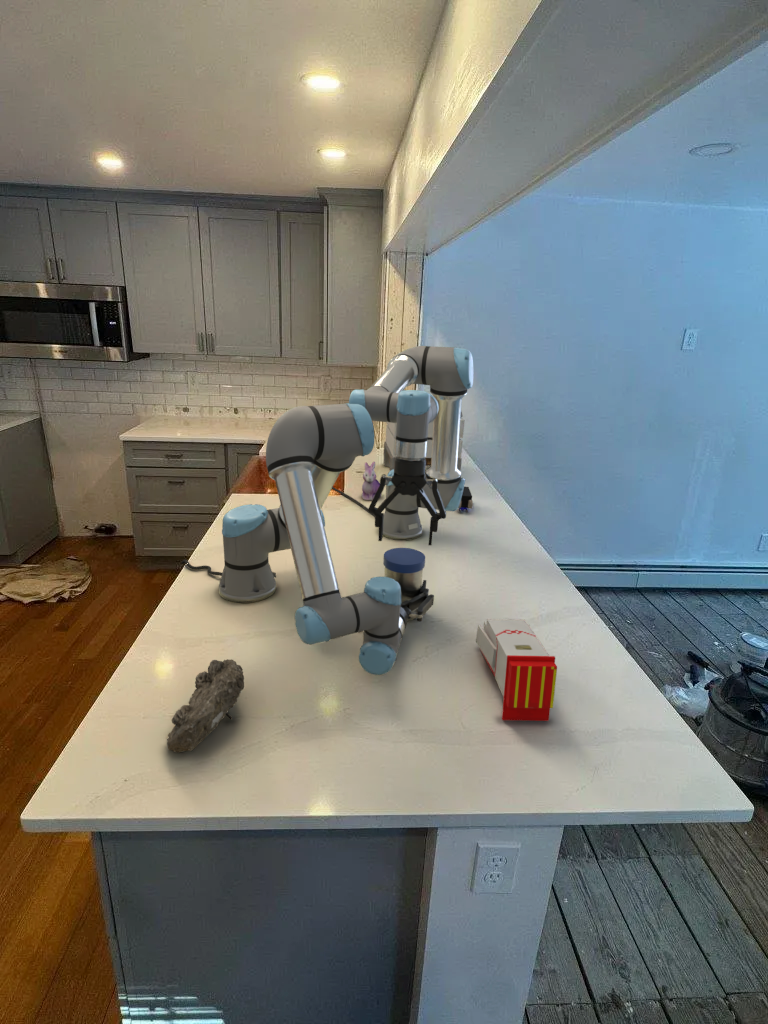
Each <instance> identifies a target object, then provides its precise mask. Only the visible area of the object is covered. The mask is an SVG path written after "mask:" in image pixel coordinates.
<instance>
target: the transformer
mask: <svg viewBox="0 0 768 1024" xmlns="http://www.w3.org/2000/svg"><path fill="white" fill-rule="evenodd" d="M406 390H407V389H404V390H403V391H406ZM385 423H386V428H385V438H384V442H383V466H384V467H388V468H389V472H390V471H391V470H393V469H394V460H395V458H396V455H395V439H396V423H391V422H385ZM464 429H465V419H464V418H463V411H461V417H460V431H459V445H458V459H457V469H459V470H460V472H461V473H462V461H463V460H462V453H463V442H464V441H463V440H462V439H463V438H464V431H465V430H464ZM432 438H433V421H432V422H431V423H429V425H428V436H427V453H426V457H425V460H426V467H431V459H432Z"/></svg>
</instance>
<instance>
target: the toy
mask: <svg viewBox="0 0 768 1024" xmlns="http://www.w3.org/2000/svg"><path fill="white" fill-rule="evenodd" d="M476 629H477V631H476V638H475V642H476V645H477V646H478V648H479V650H480V652H481V654H482V656H483V658H484V660H485V661H486V664H487V666H488V668H489V669H490V671H491V672H492V675H493V676H494V679H495V681H496V685H497V686H498V688H499V690H500V692H501V695H502V697H503V701H502V712H501V720H502V721H521V722H523V721H526V722H528V721H529V722H550V712H551V709H554V702H555V692H556V681H557V673H558V665H557V664H556V656H555V655H550V654H549V652H548V651H547V650H546V648H545V647H544V645H543V644H542V642H541V641H540V639H539V638H538V637H537V635H536V634H535V632H534V631H533V629H532V627H531V625H530V624H528V623H527V621H526V619H521V618H518V619H515V618H513V619H512V618H486V620H484V621H483V626H482V625H481V624H477V628H476Z"/></svg>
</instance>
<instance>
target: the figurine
mask: <svg viewBox="0 0 768 1024" xmlns="http://www.w3.org/2000/svg"><path fill="white" fill-rule="evenodd" d="M375 468H376V461H372V463H371V464H370V465H369V464H368V462H367V461H366V462H364V472H363V474H362V479H363V483H362V485H361V491H362V493H361V498H362V500H364V501H365V500H366V501H372V500H373V498H374V496H375V494H376V492H377V490H378V488H379V486H380V480H378V479H377V474H376V471H375ZM381 495H382V494H381ZM381 495H380V497H379V499H380V498H381V497H382V496H381Z"/></svg>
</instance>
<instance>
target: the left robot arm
mask: <svg viewBox="0 0 768 1024" xmlns="http://www.w3.org/2000/svg"><path fill="white" fill-rule="evenodd" d="M374 447H375V428H374V423H373V421H372V420H371V417H370V415H369V413H368V411H367V410H366V409H365V408H364V407H363V406H362V405H359V404H349V402H345V403H335V404H334V403H333V404H319V405H318V404H317V405H299V406H295V407H292V408H290V409H287V410H286V411H285V412H284V413H282V414H281V415H280V416H279V417H278V419H276V420H275V422H274V424H273V426H272V428H271V430H270V432H269V434H268V437H267V442H266V446H265V464H266V469H267V474H268V477H269V478H270V479H272V480H274V483H275V485H276V490H277V494H278V499H279V503H280V505H279V506H278V507H276V508H270V509H267V507H266V506H264V505H262V504H258V503H256V504H251V503H250V504H243V505H239V506H236V507H234V508H232V509H230V510H228V511H227V512H226V513H225V514H224V515H223V517H222V529H221V534H222V543H223V546H222V547H223V559H224V568H223V570H222V572H221V571H213V570H212V567H211V566H210V565H198V566H194V565H192V564H191V563H190V562H189V560H187V559H183V560H182V561H181V562H180V564H182V565H184V564H185V565H186V564H187V563H188V564H187V565H186V566H187V567H188V568H189V569H190V570H193V571H197V570H207V574H209V575H211V576H219V577H220V581H219V583H218V593H219V596H220V597H221V598H223V599H224V600H226V601H229V602H233V603H239V604H240V603H242V604H246V603H247V604H248V603H255V602H259V601H263V600H266V599H268V598H269V597H271V596H273V594H274V593H275V592H276V590H277V581H276V578H277V573H276V571H275V572H274V571H273V570H272V567H271V566H270V562H269V554H271V553H275V552H281V551H286V550H290V552H291V554H292V559H293V564H294V567H295V572H296V576H297V582H298V585H299V590H300V594H301V598H302V603H303V605H302V606H300V607H298V608H297V609H296V611H295V613H294V620H295V622H294V625H295V630H296V632H297V635H298V637H299V639H300V640H301V641H302V642H303V644H305V645H309V646H312V645H315V644H320V643H327V642H330V641H331V640H335V639H340V638H343V637H345V636H349V635H353V634H357V633H361V632H363V640H362V645H361V647H360V648H359V653H358V662H359V665H360V666H361V668H362V669H363V670H364V671H365V672H366V673H368V674H371V675H374V676H383V675H386V674H387V673H389V672H390V671H391V670H392V669H393V667H394V665H395V663H396V661H397V656H398V653H399V649H400V646H401V642H402V639H403V638H404V637H403V636H404V633H405V631H406V628H407V625H408V621H410V620H409V619H410V618H411V617H413V618H415V619H416V621H417V622H422V621H423V617H424V616H425V614H426V613H427V612H428V611H429V610H430V609H431V608H433V606H434V603H435V601H434V600H435V595H434V594H429V593H430V592H429V591H430V589H429V588H427V580H426V579H422V587H421V590H420V595H418V596H416V597H414V598H413V599H411V600H409V601H408V600H406V601H404V602H402V603H401V587H400V585H399V583H398V582H397V581H395V580H394V579H392V578H389V577H384V576H373V577H371V578H370V579H368V580H367V581H366V582H365V585H364V588H363V592H360V593H355V594H350V595H347V596H344V597H342V595H341V591H340V587H339V583H338V578H337V576H336V575H337V574H336V571H335V565H334V561H333V557H332V554H331V550H330V545H329V541H328V538H327V534H326V533H327V532H326V529H325V527H326V520H325V516H324V515H325V514H324V512H323V510H322V508H323V506H324V504H325V502H326V500H327V499H328V496H329V495H330V493H331V491H332V490H333V489H332V487H334V485H335V483H336V482H337V479H338V478H339V476H340V474H341V473H343V472H345V471H347V470H349V469H350V468H351V467H352V465H353V463H354V462H355V459H356V458H357V457H366V456H368V455H370V454H371V453H372V452H373V449H374ZM415 609H416V610H415ZM413 610H415V611H414V612H411V611H413Z"/></svg>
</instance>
